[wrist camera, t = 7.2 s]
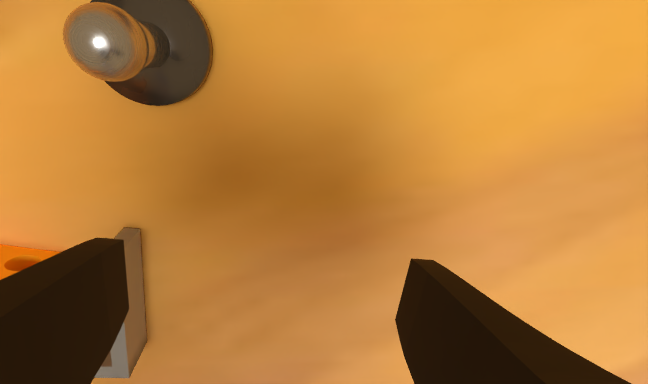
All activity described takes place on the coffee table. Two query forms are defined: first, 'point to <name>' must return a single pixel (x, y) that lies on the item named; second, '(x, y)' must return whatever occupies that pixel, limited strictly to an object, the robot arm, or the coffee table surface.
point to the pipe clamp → (20, 258)
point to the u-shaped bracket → (129, 314)
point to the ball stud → (141, 47)
